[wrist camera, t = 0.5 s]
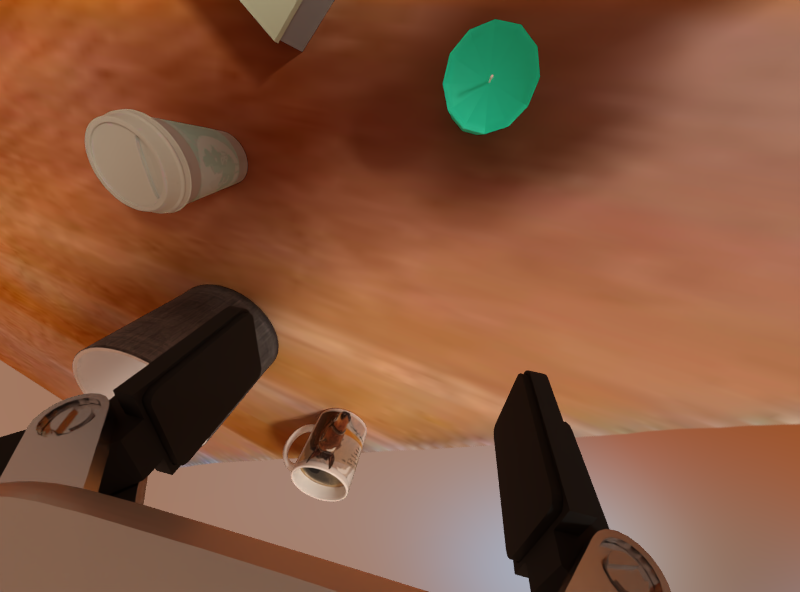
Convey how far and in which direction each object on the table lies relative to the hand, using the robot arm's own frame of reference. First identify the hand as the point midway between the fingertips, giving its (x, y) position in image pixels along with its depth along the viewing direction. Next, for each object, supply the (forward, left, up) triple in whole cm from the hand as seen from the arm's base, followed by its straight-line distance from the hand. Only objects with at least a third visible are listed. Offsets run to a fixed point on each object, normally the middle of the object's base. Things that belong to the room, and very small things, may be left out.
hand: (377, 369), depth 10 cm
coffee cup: (+15, -21, -27) cm, 37 cm away
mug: (+40, +19, -27) cm, 52 cm away
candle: (-10, -5, -27) cm, 29 cm away
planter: (+39, -7, -27) cm, 48 cm away
